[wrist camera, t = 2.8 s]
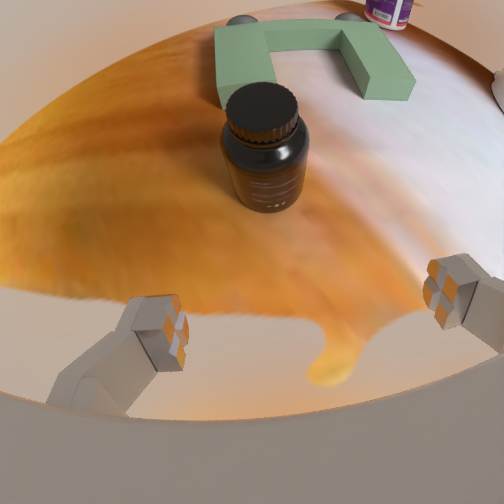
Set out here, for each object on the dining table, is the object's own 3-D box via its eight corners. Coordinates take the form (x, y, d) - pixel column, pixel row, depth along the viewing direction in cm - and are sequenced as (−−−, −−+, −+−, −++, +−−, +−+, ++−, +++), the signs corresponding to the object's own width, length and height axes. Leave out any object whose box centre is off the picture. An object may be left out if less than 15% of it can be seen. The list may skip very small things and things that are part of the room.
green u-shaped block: (368, 37, 34) (374, 14, 30) (407, 101, 31) (418, 75, 26) (218, 44, 36) (212, 19, 31) (222, 110, 32) (215, 81, 27)
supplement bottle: (228, 164, 30) (203, 83, 18) (291, 150, 30) (295, 64, 18) (242, 224, 28) (219, 155, 16) (311, 207, 28) (330, 131, 16)
